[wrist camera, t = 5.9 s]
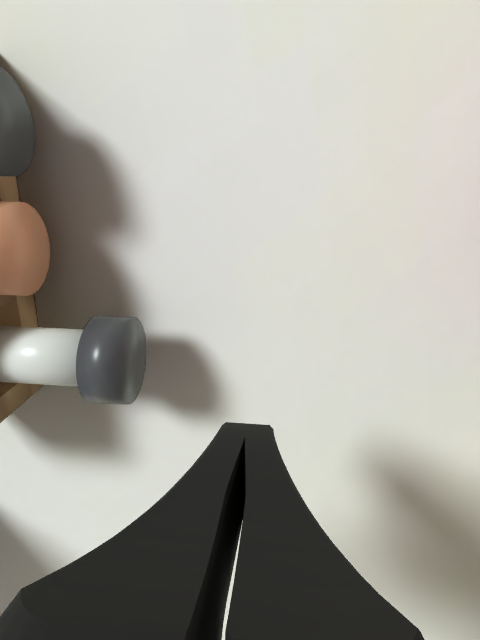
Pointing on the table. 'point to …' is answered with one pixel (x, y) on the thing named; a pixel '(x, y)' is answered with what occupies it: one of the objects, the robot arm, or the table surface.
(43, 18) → the table surface
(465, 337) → the table surface
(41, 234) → the knob middle
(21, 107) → the knob
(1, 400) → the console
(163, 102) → the table surface
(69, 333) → the knob
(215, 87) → the table surface
